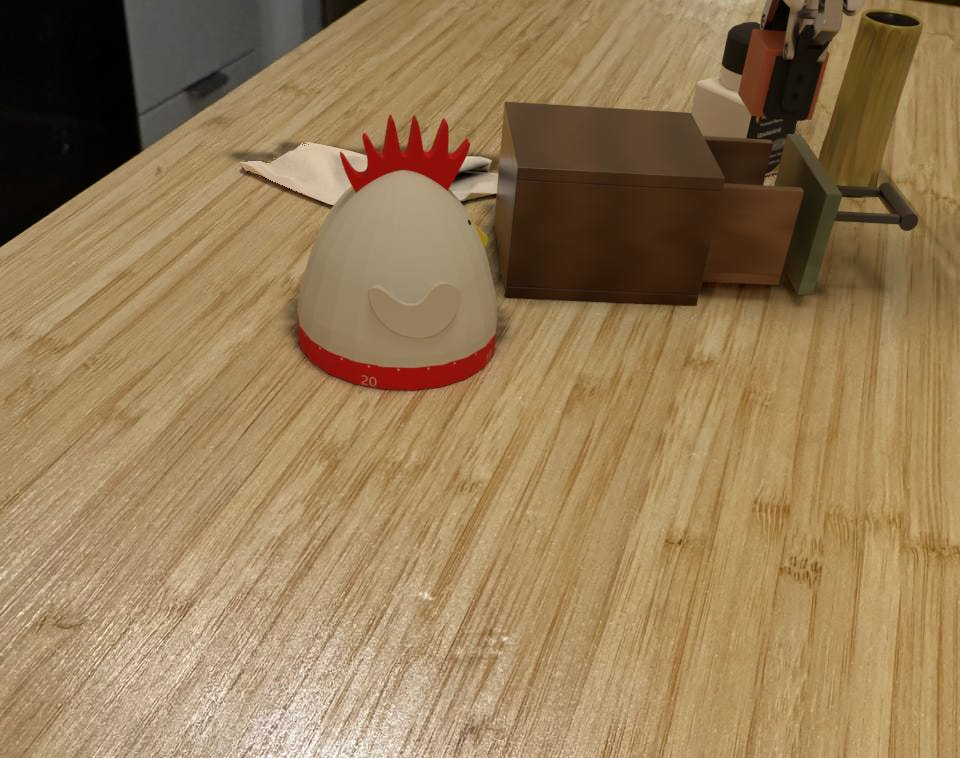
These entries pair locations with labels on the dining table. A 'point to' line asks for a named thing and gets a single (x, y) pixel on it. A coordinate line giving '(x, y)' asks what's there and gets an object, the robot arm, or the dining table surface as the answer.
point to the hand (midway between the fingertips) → (776, 102)
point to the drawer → (782, 213)
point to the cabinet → (604, 204)
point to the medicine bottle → (736, 101)
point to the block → (766, 70)
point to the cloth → (327, 181)
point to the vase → (869, 96)
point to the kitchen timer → (399, 273)
